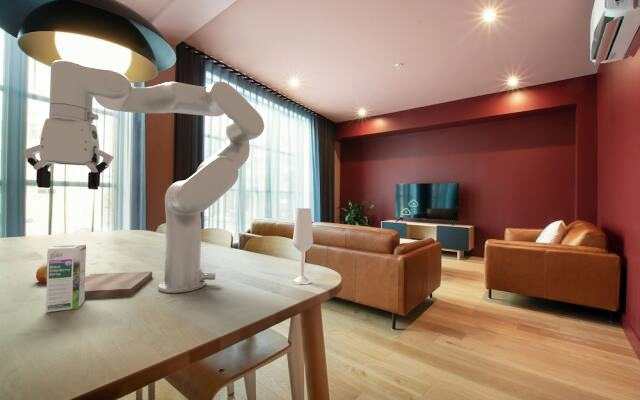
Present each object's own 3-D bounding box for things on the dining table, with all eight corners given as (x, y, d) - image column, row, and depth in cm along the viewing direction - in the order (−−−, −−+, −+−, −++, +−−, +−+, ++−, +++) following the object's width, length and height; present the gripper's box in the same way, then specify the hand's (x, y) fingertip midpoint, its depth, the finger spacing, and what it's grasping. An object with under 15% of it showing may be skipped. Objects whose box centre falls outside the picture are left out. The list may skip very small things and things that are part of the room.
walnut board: (152, 277, 90) (152, 271, 90) (130, 296, 73) (130, 288, 73) (90, 280, 86) (91, 273, 86) (51, 300, 68) (52, 292, 68)
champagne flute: (287, 282, 88) (289, 208, 88) (299, 277, 94) (301, 208, 94) (304, 286, 85) (306, 208, 85) (316, 281, 90) (317, 208, 91)
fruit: (66, 272, 93) (73, 250, 92) (88, 284, 90) (94, 261, 90) (23, 280, 82) (30, 255, 82) (46, 294, 79) (53, 268, 79)
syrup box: (44, 313, 61) (46, 248, 61) (55, 304, 66) (56, 244, 66) (77, 309, 64) (79, 246, 64) (85, 300, 69) (86, 243, 69)
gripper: (120, 124, 71) (118, 190, 71) (38, 117, 66) (35, 187, 66) (106, 116, 64) (103, 189, 64) (12, 107, 59) (9, 186, 59)
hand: (68, 188), depth 65 cm, fingers open, 9 cm apart
